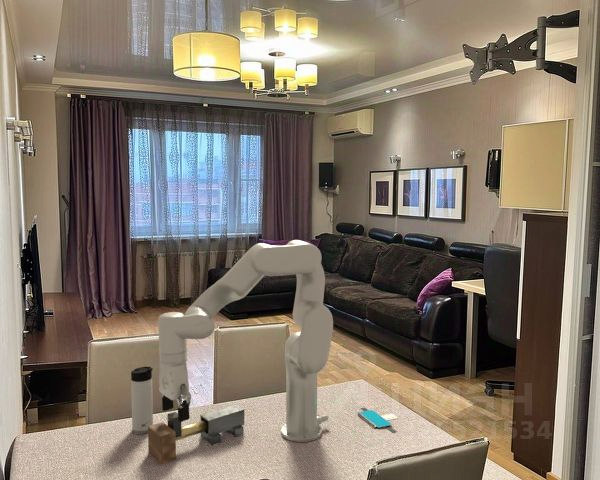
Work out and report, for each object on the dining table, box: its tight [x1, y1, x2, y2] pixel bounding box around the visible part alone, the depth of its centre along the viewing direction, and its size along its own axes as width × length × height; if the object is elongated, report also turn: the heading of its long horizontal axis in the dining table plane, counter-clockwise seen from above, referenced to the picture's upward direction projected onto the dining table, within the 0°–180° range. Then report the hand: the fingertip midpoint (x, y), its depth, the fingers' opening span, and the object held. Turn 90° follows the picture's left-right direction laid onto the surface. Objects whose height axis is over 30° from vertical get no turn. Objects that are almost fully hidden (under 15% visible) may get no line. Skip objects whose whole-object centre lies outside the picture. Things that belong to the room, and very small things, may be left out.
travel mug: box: [130, 366, 154, 435], centre depth 166 cm, size 6×7×20 cm
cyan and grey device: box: [357, 407, 399, 433], centre depth 176 cm, size 20×12×2 cm, turn 23°
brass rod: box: [166, 411, 208, 442], centre depth 155 cm, size 18×4×8 cm, turn 130°
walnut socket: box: [147, 421, 177, 465], centre depth 150 cm, size 4×8×8 cm, turn 40°
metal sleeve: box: [200, 403, 245, 446], centre depth 163 cm, size 12×7×8 cm, turn 130°
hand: (175, 414), depth 152 cm, fingers open, 9 cm apart
